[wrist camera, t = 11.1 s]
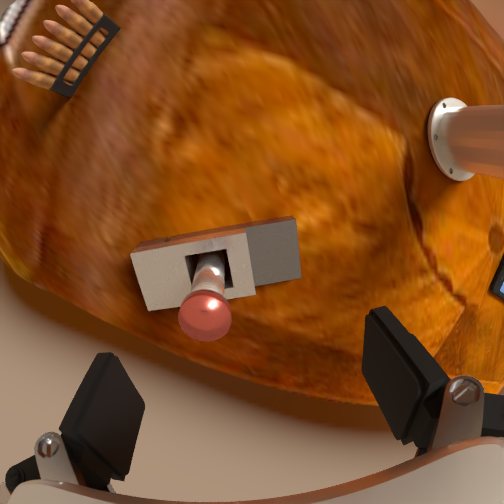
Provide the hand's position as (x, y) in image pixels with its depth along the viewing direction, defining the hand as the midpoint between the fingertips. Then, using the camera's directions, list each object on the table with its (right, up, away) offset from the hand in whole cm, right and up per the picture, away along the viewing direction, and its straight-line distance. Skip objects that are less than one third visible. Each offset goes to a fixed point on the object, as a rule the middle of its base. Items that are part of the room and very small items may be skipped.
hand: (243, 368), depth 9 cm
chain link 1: (-6, +3, +23) cm, 24 cm away
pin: (-4, +3, +23) cm, 24 cm away
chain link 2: (-1, +4, +23) cm, 24 cm away
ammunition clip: (-19, +28, +14) cm, 36 cm away
